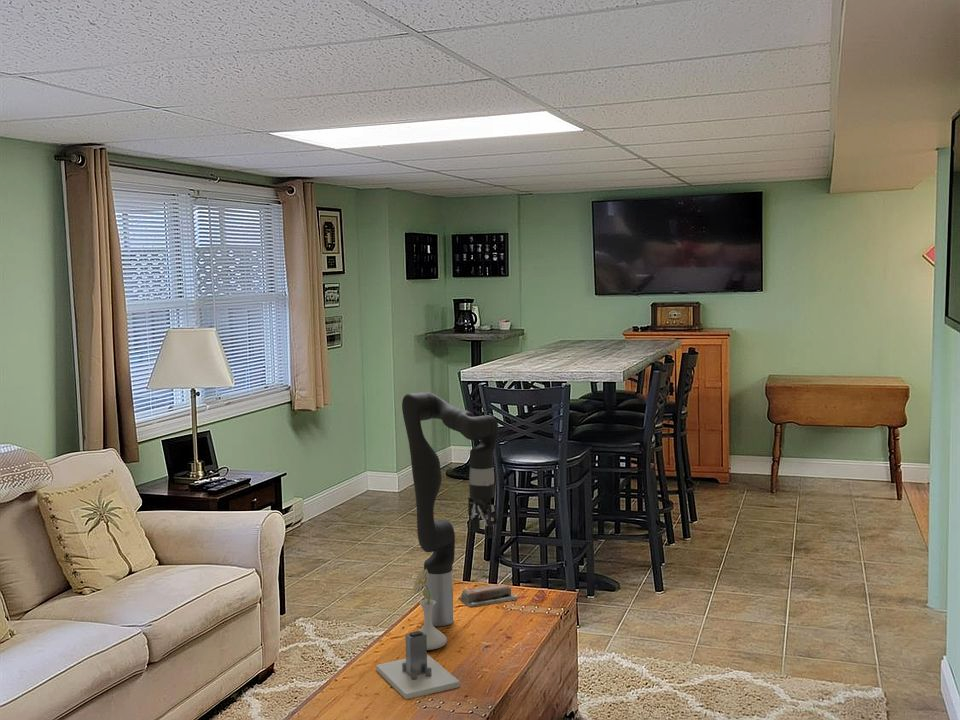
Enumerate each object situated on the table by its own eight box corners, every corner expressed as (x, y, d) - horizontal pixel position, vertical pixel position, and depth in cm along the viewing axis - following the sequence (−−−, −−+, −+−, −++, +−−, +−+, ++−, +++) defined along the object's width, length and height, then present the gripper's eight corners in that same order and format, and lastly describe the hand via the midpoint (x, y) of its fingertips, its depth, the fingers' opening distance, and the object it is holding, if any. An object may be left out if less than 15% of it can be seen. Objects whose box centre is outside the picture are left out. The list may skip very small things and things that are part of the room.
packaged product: (469, 595, 321) (458, 586, 330) (469, 609, 321) (458, 600, 330) (517, 587, 328) (505, 579, 337) (517, 601, 328) (505, 592, 337)
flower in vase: (411, 639, 293) (409, 560, 291) (448, 639, 293) (446, 560, 291) (407, 655, 280) (405, 573, 278) (445, 655, 280) (443, 573, 278)
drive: (406, 672, 264) (405, 632, 263) (422, 669, 267) (421, 629, 266) (410, 676, 262) (410, 636, 261) (427, 673, 264) (426, 633, 263)
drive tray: (375, 669, 270) (375, 658, 270) (427, 659, 278) (426, 647, 277) (405, 699, 251) (405, 686, 251) (459, 686, 258) (459, 674, 258)
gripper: (460, 478, 289) (461, 530, 290) (481, 487, 276) (482, 542, 278) (481, 476, 292) (482, 527, 294) (504, 484, 280) (504, 538, 281)
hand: (482, 534), depth 286 cm, fingers open, 8 cm apart
